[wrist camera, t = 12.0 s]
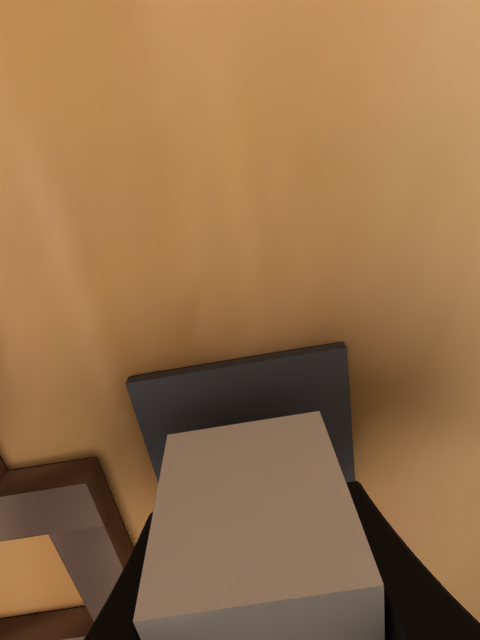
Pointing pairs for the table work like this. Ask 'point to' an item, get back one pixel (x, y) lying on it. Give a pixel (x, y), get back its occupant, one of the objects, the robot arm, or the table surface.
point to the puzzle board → (65, 539)
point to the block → (257, 540)
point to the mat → (247, 397)
